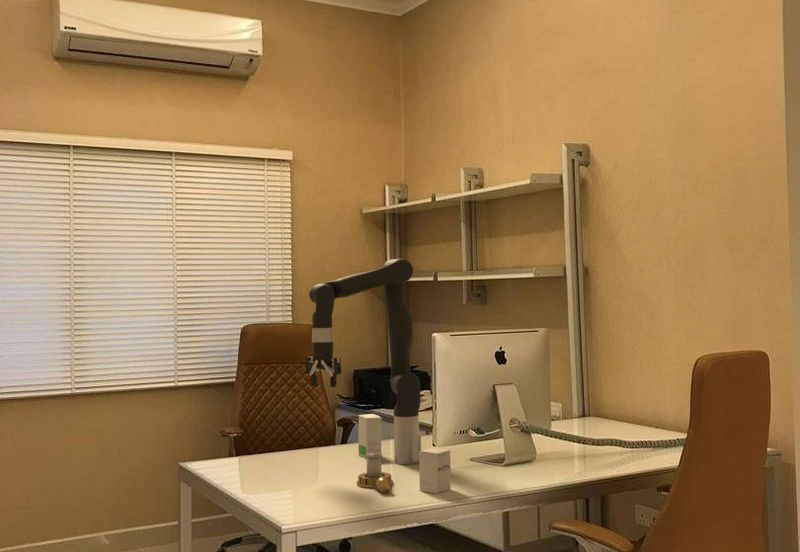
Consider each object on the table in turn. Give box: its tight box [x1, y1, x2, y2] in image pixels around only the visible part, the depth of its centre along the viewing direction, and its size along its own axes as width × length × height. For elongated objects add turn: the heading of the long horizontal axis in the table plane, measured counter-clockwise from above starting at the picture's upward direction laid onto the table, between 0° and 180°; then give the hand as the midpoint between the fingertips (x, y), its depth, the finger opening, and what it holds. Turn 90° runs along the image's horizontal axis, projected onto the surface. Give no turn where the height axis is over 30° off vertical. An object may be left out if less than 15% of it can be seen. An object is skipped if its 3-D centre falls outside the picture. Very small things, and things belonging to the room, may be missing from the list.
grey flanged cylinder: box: [364, 452, 383, 478], centre depth 276 cm, size 5×5×9 cm
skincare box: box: [357, 413, 383, 459], centre depth 324 cm, size 8×7×16 cm
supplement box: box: [418, 447, 452, 494], centre depth 267 cm, size 7×7×13 cm
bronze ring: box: [356, 471, 394, 495], centre depth 272 cm, size 12×20×4 cm, turn 16°
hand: (323, 386), depth 297 cm, fingers open, 8 cm apart
